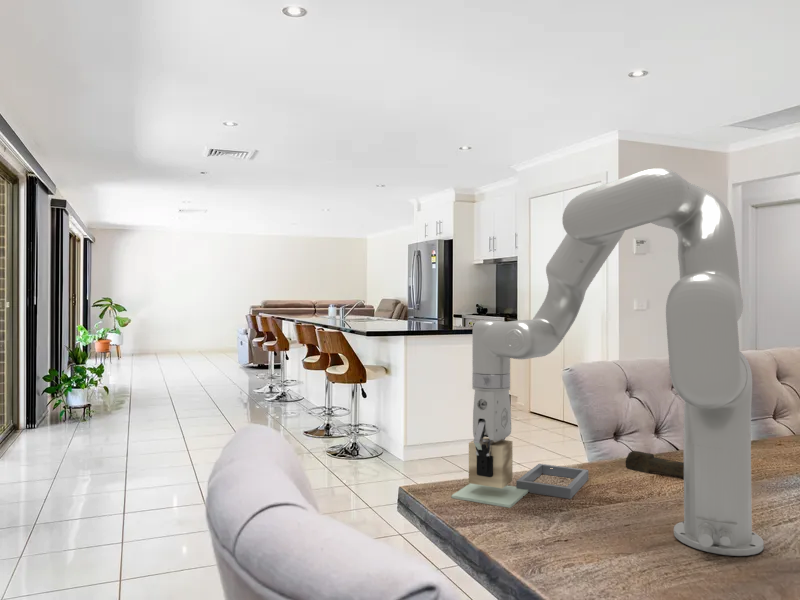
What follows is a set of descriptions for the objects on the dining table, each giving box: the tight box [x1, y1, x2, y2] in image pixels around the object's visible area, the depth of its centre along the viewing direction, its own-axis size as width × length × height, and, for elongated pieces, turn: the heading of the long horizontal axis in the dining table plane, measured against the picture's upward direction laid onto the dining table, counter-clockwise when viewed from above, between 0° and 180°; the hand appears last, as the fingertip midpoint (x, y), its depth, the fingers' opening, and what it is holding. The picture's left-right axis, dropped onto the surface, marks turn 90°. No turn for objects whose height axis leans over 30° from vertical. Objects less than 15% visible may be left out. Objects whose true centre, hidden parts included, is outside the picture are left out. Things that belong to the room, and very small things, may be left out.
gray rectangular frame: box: [515, 463, 589, 500], centre depth 125 cm, size 16×11×2 cm
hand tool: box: [625, 450, 684, 479], centre depth 133 cm, size 19×4×5 cm, turn 46°
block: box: [468, 437, 513, 488], centre depth 118 cm, size 6×7×8 cm
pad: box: [451, 483, 528, 509], centre depth 118 cm, size 12×12×1 cm
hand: (491, 471), depth 118 cm, fingers closed on block, 6 cm apart
